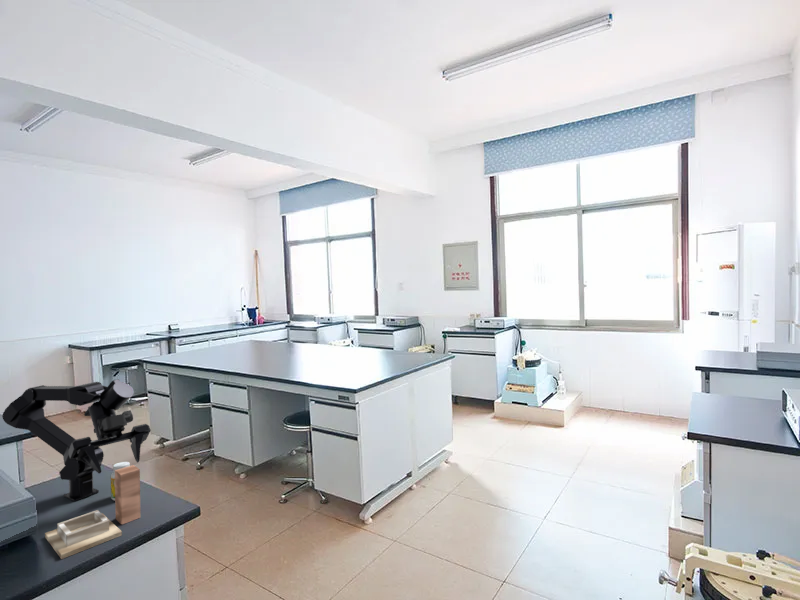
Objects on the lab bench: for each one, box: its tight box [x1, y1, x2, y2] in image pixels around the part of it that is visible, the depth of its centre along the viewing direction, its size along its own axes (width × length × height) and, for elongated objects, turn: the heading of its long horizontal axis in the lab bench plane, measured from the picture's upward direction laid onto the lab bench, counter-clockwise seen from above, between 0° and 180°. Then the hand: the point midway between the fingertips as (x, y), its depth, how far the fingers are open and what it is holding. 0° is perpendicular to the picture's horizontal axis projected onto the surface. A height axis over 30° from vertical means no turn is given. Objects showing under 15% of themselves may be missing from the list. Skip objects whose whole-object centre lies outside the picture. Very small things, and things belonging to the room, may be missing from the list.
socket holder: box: [44, 509, 123, 560], centre depth 105 cm, size 14×12×4 cm
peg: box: [114, 464, 141, 525], centre depth 113 cm, size 4×4×13 cm
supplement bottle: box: [110, 461, 131, 502], centre depth 125 cm, size 5×5×10 cm
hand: (119, 466), depth 117 cm, fingers open, 9 cm apart
